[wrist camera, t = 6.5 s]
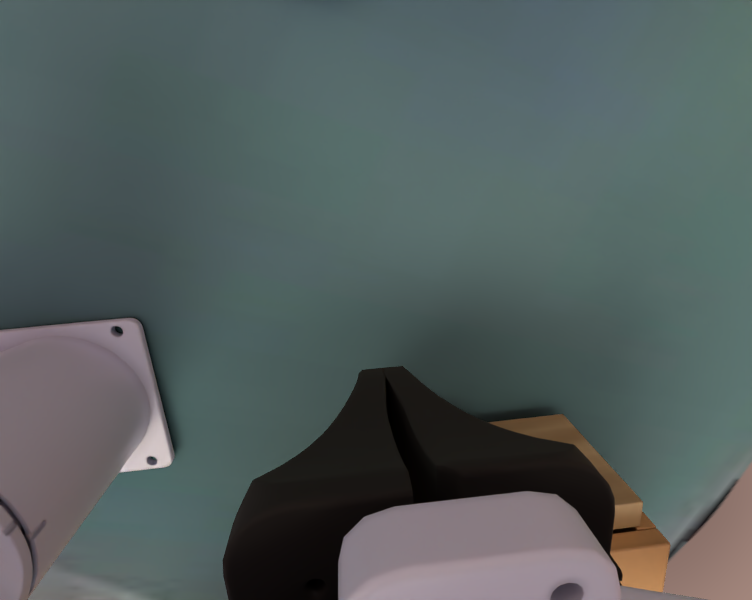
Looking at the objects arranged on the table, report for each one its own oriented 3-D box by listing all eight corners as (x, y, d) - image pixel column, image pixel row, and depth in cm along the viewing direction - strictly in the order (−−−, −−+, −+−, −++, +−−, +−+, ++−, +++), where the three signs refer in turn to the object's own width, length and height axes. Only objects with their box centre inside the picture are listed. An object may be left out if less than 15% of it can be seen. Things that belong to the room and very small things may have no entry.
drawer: (343, 417, 22) (345, 513, 16) (564, 392, 22) (647, 475, 16) (366, 624, 26) (374, 762, 20) (551, 598, 26) (613, 725, 20)
